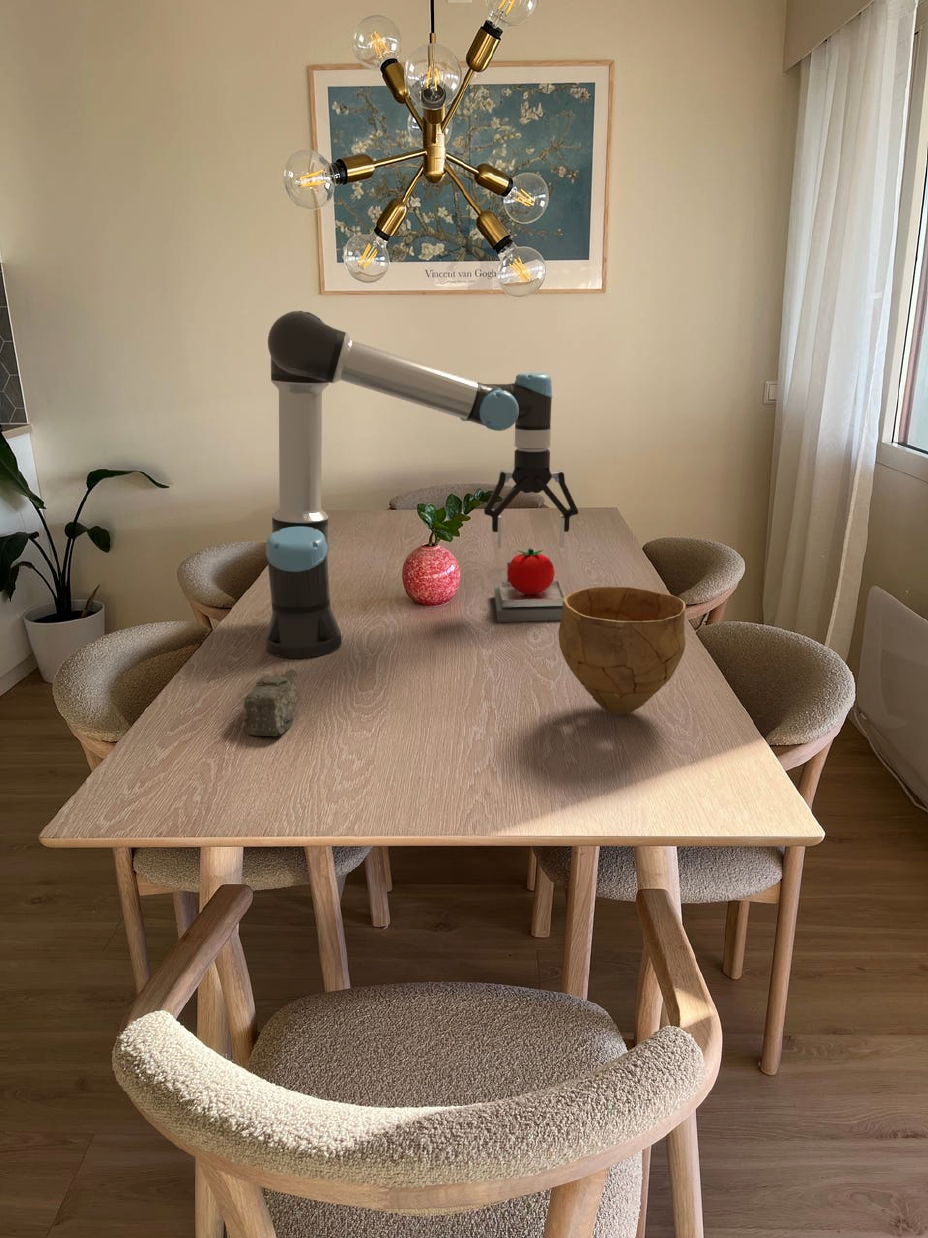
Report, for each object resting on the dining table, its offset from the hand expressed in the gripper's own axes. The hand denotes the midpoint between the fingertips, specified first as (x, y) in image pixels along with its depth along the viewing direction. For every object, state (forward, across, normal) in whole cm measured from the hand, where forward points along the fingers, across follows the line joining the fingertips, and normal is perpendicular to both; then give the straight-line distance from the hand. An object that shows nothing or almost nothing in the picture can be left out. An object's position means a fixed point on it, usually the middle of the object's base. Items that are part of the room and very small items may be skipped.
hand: (530, 546), depth 205 cm
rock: (+16, +47, +56) cm, 75 cm away
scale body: (+15, -1, -2) cm, 15 cm away
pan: (+12, -1, 0) cm, 12 cm away
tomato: (+11, 0, 0) cm, 11 cm away
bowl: (+15, -11, +56) cm, 59 cm away
